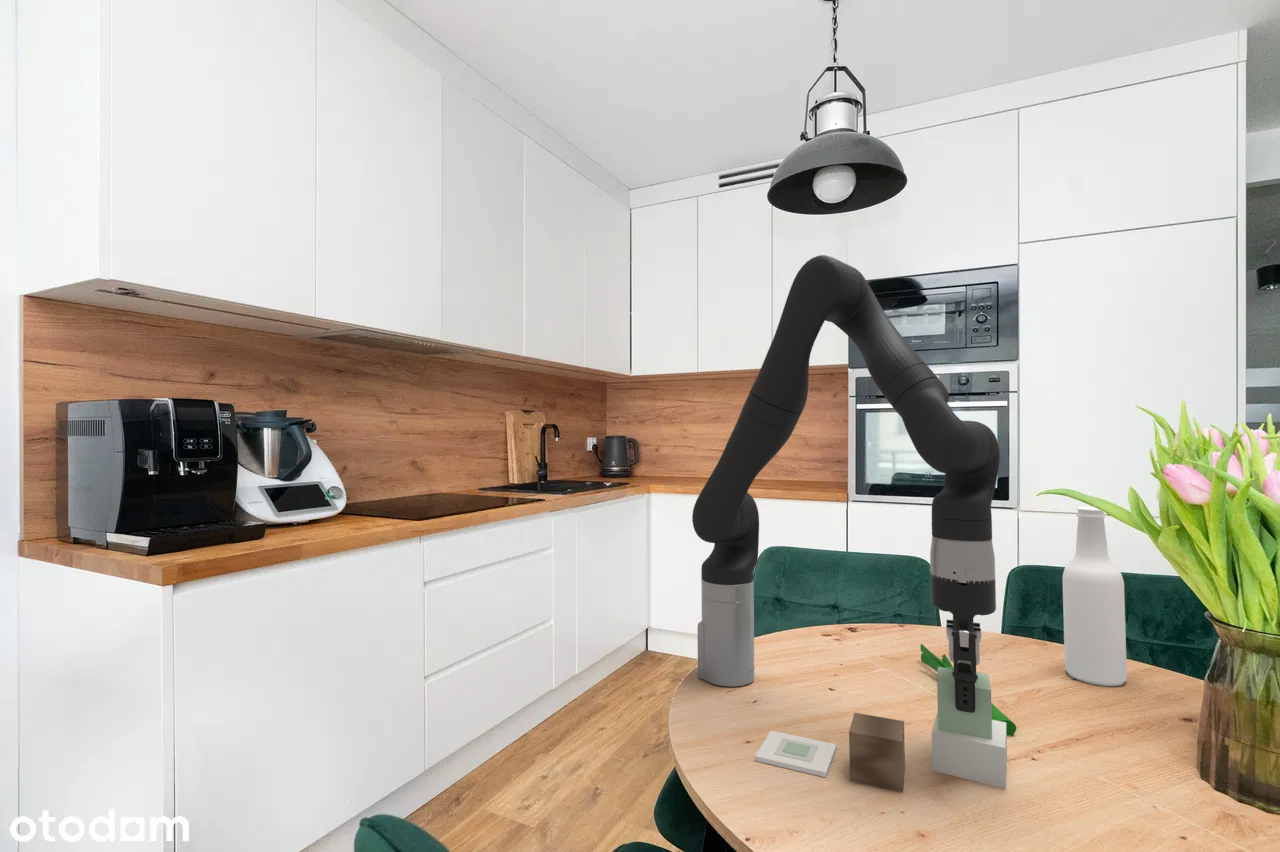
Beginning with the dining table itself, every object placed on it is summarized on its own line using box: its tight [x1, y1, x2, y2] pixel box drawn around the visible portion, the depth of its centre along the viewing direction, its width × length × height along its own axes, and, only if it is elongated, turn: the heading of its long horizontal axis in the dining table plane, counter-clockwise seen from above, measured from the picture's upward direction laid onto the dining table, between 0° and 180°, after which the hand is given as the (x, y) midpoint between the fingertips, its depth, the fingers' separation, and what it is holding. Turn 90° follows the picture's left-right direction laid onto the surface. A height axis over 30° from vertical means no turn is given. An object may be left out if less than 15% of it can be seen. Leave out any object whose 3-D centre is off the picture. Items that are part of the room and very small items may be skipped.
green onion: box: [920, 643, 1017, 736], centre depth 102 cm, size 5×3×30 cm
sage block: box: [936, 667, 992, 739], centre depth 79 cm, size 6×6×6 cm
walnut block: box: [848, 712, 906, 793], centre depth 76 cm, size 6×6×6 cm
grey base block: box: [931, 711, 1008, 790], centre depth 79 cm, size 8×8×5 cm
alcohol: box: [1061, 506, 1128, 687], centre depth 108 cm, size 9×9×30 cm
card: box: [754, 730, 838, 778], centre depth 81 cm, size 9×8×1 cm
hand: (964, 698), depth 79 cm, fingers open, 8 cm apart
